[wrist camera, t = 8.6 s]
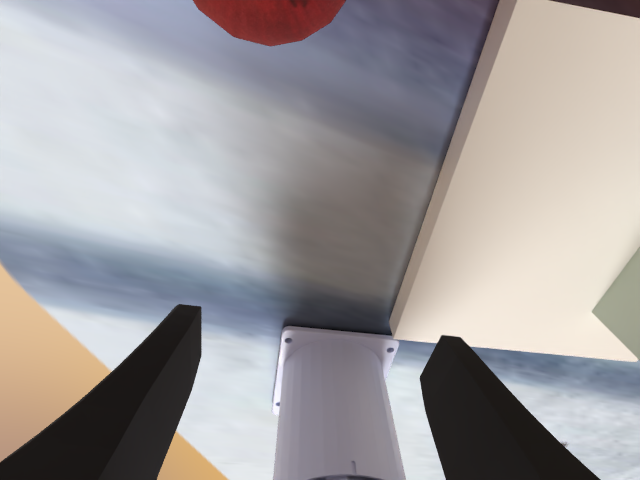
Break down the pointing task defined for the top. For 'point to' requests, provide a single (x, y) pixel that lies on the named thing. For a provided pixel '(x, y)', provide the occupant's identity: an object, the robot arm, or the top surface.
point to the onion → (270, 18)
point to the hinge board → (534, 189)
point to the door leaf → (623, 306)
